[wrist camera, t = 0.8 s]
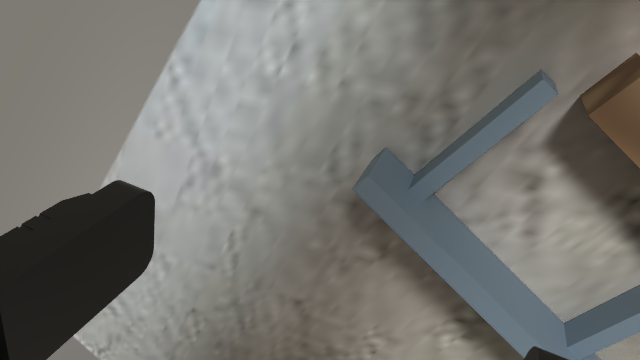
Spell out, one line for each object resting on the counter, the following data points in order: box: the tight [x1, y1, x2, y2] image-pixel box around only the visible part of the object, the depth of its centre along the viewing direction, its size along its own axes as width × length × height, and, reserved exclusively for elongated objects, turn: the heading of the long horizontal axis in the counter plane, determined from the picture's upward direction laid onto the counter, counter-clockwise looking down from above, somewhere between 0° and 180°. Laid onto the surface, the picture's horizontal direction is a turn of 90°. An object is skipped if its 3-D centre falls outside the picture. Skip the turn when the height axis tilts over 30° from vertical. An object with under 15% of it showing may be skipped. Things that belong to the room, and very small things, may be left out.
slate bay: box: [353, 70, 640, 360], centre depth 31 cm, size 12×22×5 cm, turn 49°
